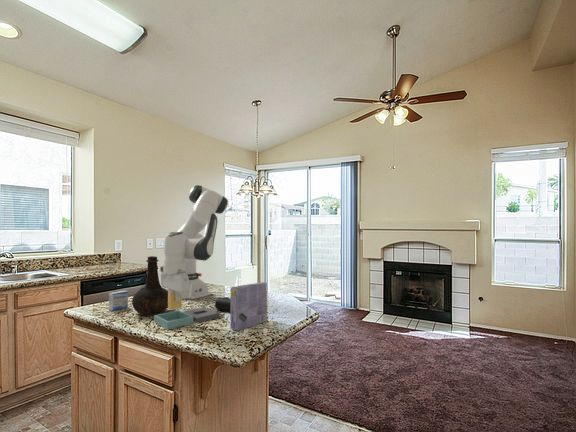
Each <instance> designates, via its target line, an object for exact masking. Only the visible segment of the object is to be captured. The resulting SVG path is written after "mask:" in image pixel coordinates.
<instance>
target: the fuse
mask: <svg viewBox="0 0 576 432" xmlns="http://www.w3.org/2000/svg"><path fill="white" fill-rule="evenodd" d="M167 291H168V308H167V309H168V310H170V311H171V310H176V309H181V308H182V299H181V298H182V293H181V295H180V300H179V301H175V300H174V297H175V295H176V293H175V291H174V290H169V289H167Z"/></svg>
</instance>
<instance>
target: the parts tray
mask: <svg viewBox="0 0 576 432" xmlns="http://www.w3.org/2000/svg"><path fill="white" fill-rule="evenodd" d="M153 323H155V324H156V325H158V326H159V327H162V328H164V329H165V330H173V329H176V328H180V327H184V326H188V325H192V324H194V322H193V316H191V315H189V314H186V313H184V312H183V311H181V310H174V311H168V312H165V313H159V314H155V315H153Z"/></svg>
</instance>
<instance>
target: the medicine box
mask: <svg viewBox="0 0 576 432" xmlns="http://www.w3.org/2000/svg"><path fill="white" fill-rule="evenodd" d="M128 307H129V292H128V290H120V291H113V292H109V293H108V311H109V310H110V311H112V312H114V311H117V310H118V311H119V310H122V309H127V308H128Z"/></svg>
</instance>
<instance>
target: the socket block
mask: <svg viewBox="0 0 576 432" xmlns="http://www.w3.org/2000/svg"><path fill="white" fill-rule="evenodd" d="M182 312H184V313H186V314H189V315H191V316H193V323H195V324H197V323H201V322H205V321H210V320H214V319H218V318H220V312H218V311H216V310H214V309H210V308H207V307H205V306H204V307H198V308H193V309H188V310H185V311H182Z"/></svg>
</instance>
